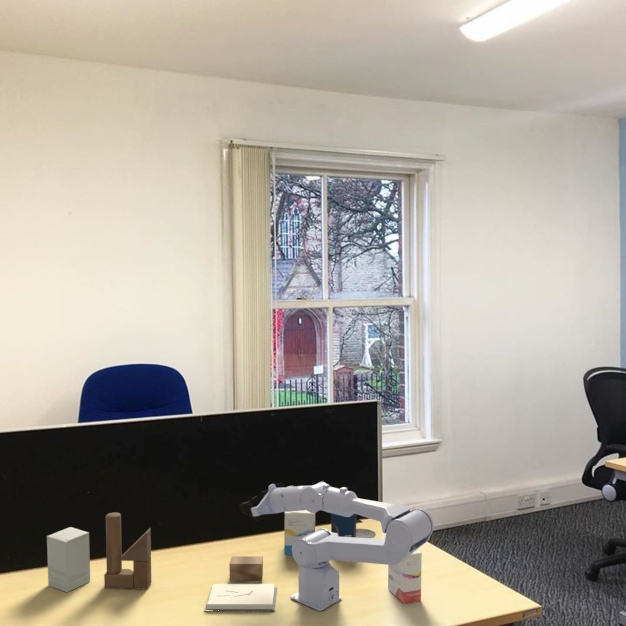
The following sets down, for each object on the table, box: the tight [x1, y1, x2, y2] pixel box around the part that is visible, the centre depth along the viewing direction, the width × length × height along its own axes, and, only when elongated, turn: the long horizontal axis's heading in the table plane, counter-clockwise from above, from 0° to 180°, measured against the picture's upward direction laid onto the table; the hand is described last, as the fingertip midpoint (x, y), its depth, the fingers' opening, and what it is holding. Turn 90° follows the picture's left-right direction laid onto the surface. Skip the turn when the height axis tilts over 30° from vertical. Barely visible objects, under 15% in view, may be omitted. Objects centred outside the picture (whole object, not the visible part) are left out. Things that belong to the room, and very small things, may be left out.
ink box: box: [283, 510, 316, 555], centre depth 193 cm, size 9×8×12 cm
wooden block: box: [103, 511, 152, 590], centre depth 170 cm, size 4×11×18 cm, turn 88°
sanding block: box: [229, 555, 264, 584], centre depth 174 cm, size 8×4×5 cm, turn 90°
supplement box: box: [46, 526, 91, 593], centre depth 171 cm, size 7×7×13 cm
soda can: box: [330, 513, 357, 538], centre depth 191 cm, size 7×7×12 cm
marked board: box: [204, 583, 278, 613], centre depth 163 cm, size 16×11×2 cm
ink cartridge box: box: [387, 549, 423, 604], centre depth 166 cm, size 9×5×15 cm, turn 21°
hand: (251, 502), depth 176 cm, fingers open, 7 cm apart
